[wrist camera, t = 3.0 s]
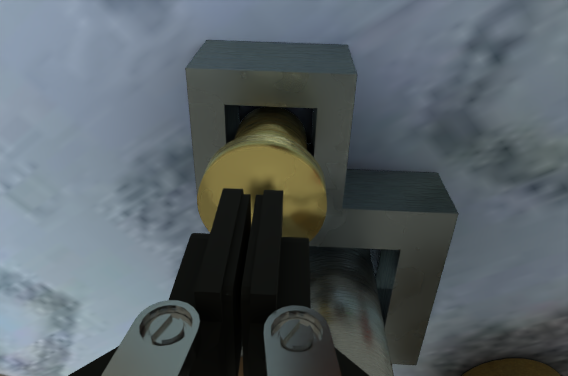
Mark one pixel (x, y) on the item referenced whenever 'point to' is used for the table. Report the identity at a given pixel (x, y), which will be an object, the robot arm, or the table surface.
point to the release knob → (268, 171)
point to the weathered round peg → (350, 305)
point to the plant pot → (512, 368)
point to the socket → (333, 169)
